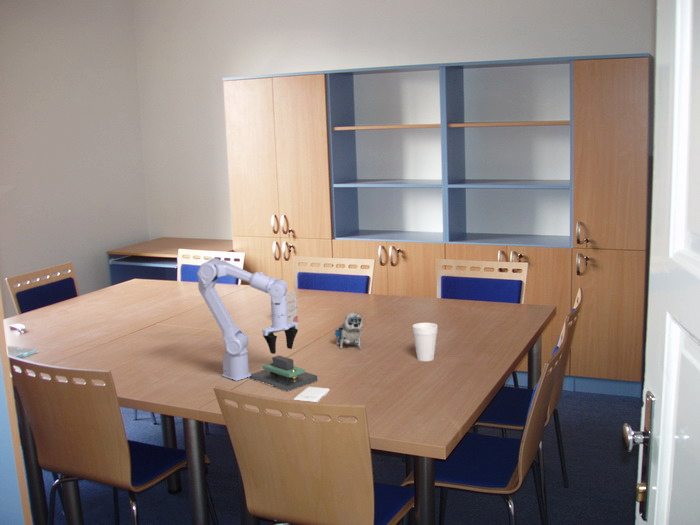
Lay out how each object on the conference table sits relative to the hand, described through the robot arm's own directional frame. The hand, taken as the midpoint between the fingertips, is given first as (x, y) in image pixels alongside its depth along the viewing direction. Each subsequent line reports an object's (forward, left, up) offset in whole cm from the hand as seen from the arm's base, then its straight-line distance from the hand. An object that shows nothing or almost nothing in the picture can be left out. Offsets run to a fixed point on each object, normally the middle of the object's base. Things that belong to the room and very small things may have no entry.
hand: (281, 350), depth 266 cm
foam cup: (+26, +49, -10) cm, 57 cm away
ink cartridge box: (-58, +51, -10) cm, 78 cm away
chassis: (+3, -2, -10) cm, 10 cm away
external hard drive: (+23, -7, -11) cm, 26 cm away
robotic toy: (-8, +43, -10) cm, 45 cm away
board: (+3, -2, -6) cm, 7 cm away
